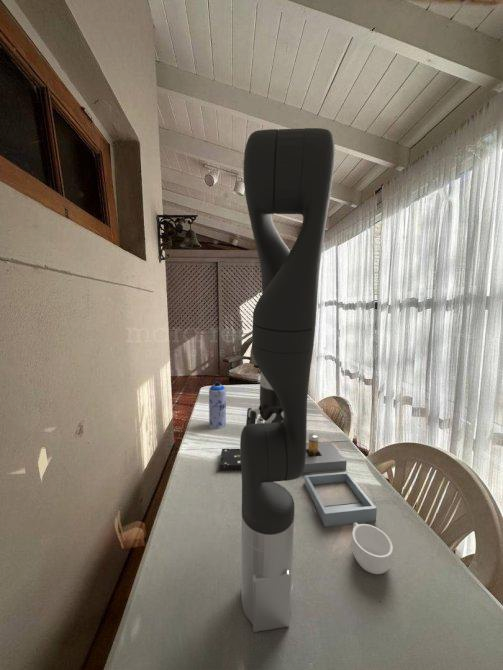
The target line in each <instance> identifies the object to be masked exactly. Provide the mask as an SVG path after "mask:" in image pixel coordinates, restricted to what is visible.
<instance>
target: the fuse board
mask: <svg viewBox="0 0 503 670" xmlns="http://www.w3.org/2000/svg"><path fill="white" fill-rule="evenodd" d="M308 446H309V442H308V443H307V442H306V460H305V467H304V470H303V473H302V474H308V473H309V474H311V473H321V472H335V471H343V470H344V471H345V470H347V462H348V461H347V459H346V458H345V457H344V456H343V455H342V453H341V452H340V451H339V450H338V449H337V448H336V446H335V445H334V444H333V443H332V442H331V441H324V442H323V441H322V442H318V456H313V457H309V456H308Z"/></svg>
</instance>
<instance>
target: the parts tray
mask: <svg viewBox="0 0 503 670" xmlns="http://www.w3.org/2000/svg"><path fill="white" fill-rule="evenodd" d="M344 482H346V484H347V485H348V486H349V487H350V489H351V490H352V491H353V493H354V494H355V496H356V497H357V498H358V499H359V500H360V502H359V501H358V502H350V503H349V502H348V503H341V504H333V505H332V504H331V505H324V503H323V501H322V499H321V497H320V495H319V494H318V492H317V491H316V488H315V486H314V485H323V484H324V485H325V484H334V483H344ZM303 484H304V485H305V488H306V489H307V492H308V493H309V496H310V497H311V500H312V501H313V503H314V505H315V507H314V508H315V511H316V513H317V515H318V517H319V519H320V520H321V523H322V525H323V527H324V528H326V527H327V528H329V527H336V526H343V525H353V524H354V523H357V524H364V523H369V522H376V521H377V512H378V511H377V510H378V508H377V506H376V504H374V503H373V501H372V500H371V499H370V498H369V497H368V495H367V494H366V493H365V491H363V489H362V488H361V487H360V485H359V484H358V483H357V482H356V480H355V479H354V478H353V476H352V475H350V473H349V472H348V471H341V472H331V473H330V472H329V473H318V474H316V473H315V474H305V475H304V482H303Z"/></svg>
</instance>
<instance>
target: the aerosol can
mask: <svg viewBox="0 0 503 670" xmlns="http://www.w3.org/2000/svg"><path fill="white" fill-rule="evenodd" d="M208 389H209V390H208V412H209V413H208V415H209V416H208V420H209V423H208V425H209V426H208V427H209V428H211V429H215V430H221V429H223V428H225V427H226V426H227V411H226V410H227V397H226V396H227V395H226V394H227V393H226V392H227V390H226V387H225V386H224V385H222V384H221V382H220V381H219V380H218V381H215V382H214V384H213V385H211V386H210V387H209V388H208Z"/></svg>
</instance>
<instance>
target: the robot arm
mask: <svg viewBox="0 0 503 670" xmlns="http://www.w3.org/2000/svg"><path fill="white" fill-rule="evenodd" d="M335 147H336V146H335V140H334V136H333V133H332V131H330V130H329V129H327V128H320V127H312V128H311V127H307V128H306V127H305V128H282V129H281V128H279V129H278V128H271V129H269V128H268V129H260V130H254V131H253V132H252V133H251V134H250V135H249V137H248V139H247V141H246V144H245V148H244V155H243V157H244V158H243V168H242V169H243V186H244V193H245V194H244V196H245V200H246V201H245V202H246V206H247V211H248V216H249V222H250V226H251V230H252V235H253V240H254V244H255V247H256V251H257V256H258V260H259V266H260V273H261V292H262V293H261V295H260V297H259V299H258V300H257V302H256V304H255V306H254V309H253V313H252V335H251V340H252V341H251V352H252V356H253V359H254V361H255V364H256V366H257V367H258V369H259V371H260V376H259V377H260V378H259V405H258V408H255V409H254V408H252V407H248V408H247V411H246V424H245V425H244V427H243V428H242V431H241V434H240V441H239V443H240V444H239V449H240V455H241V471H240V472H241V555H240V556H241V557H240V559H241V562H240V563H241V565H240V566H241V569H240V570H241V571H240V572H241V575H240V576H241V579H240V580H241V581H240V582H241V586H240V587H241V590H240V593H241V594H240V595H241V600H240V601H241V607H242V610H243V613H244V615H245V617H246V618H247V619H248V621H249V622H250V623H251V625H252V630H253V631H252V632H254V633H257V632H263V631H269V630H275V629H282V628H286V627H290V624H291V622H290V621H291V619H290V618H291V611H292V605H293V571H294V568H293V567H294V533H295V531H294V529H295V501H294V497H293V496H292V493H290V491H289V490H288V489H287V488H286V487H284V486H283V485H281V484H280V483H277V482H284V481H285V482H286V481H293V480H296V479H299V478H300V477H301V476H302V474H304V473H303V470H304V467H305V460H306V444H307V431H308V430H307V426H308V425H307V424H308V423H307V421H308V419H307V418H308V417H307V416H308V396H309V384H310V376H311V375H310V374H311V367H312V359H313V352H314V351H313V350H314V345H315V344H314V343H315V333H316V327H317V325H316V323H317V322H316V321H317V309H318V307H317V306H318V293H319V292H318V291H319V280H320V279H319V277H320V267H321V260H322V253H323V252H322V251H323V245H324V239H325V234H326V233H325V232H326V226H327V219H328V213H329V206H330V201H331V195H332V186H333V181H334V180H333V178H334V172H335V171H334V170H335V162H336V161H335V160H336V159H335V158H336V148H335ZM272 215H301V216H302V224H301V227H300V230H299V232H298V234H297V238H296V240H295V242H294V243H293V245H292V248H291V250H290V248H289V247H288V246H287V245H286V243H285V241H284V240H283V239H282V237H281V236H280V233H279V232H278V230H277V228H276V226H275V223H274V221H273V220H274V219H273V216H272ZM258 416H259V417H258ZM263 421H264V422H263Z"/></svg>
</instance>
